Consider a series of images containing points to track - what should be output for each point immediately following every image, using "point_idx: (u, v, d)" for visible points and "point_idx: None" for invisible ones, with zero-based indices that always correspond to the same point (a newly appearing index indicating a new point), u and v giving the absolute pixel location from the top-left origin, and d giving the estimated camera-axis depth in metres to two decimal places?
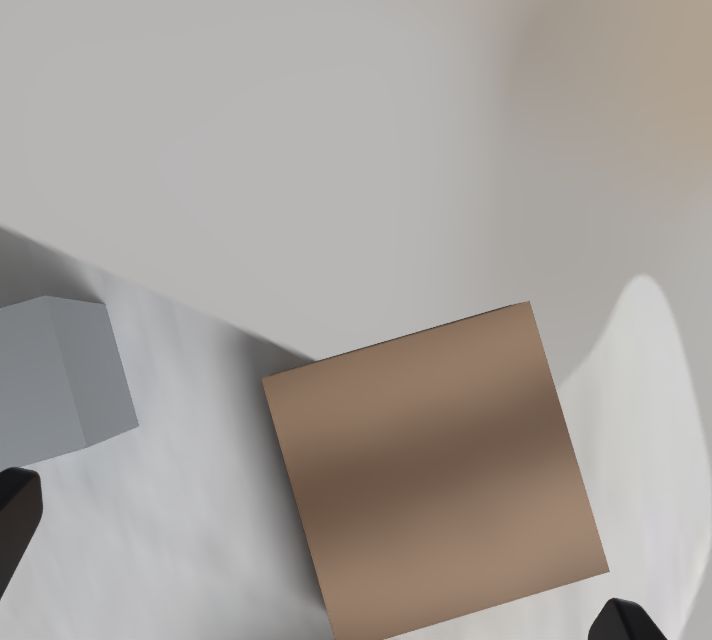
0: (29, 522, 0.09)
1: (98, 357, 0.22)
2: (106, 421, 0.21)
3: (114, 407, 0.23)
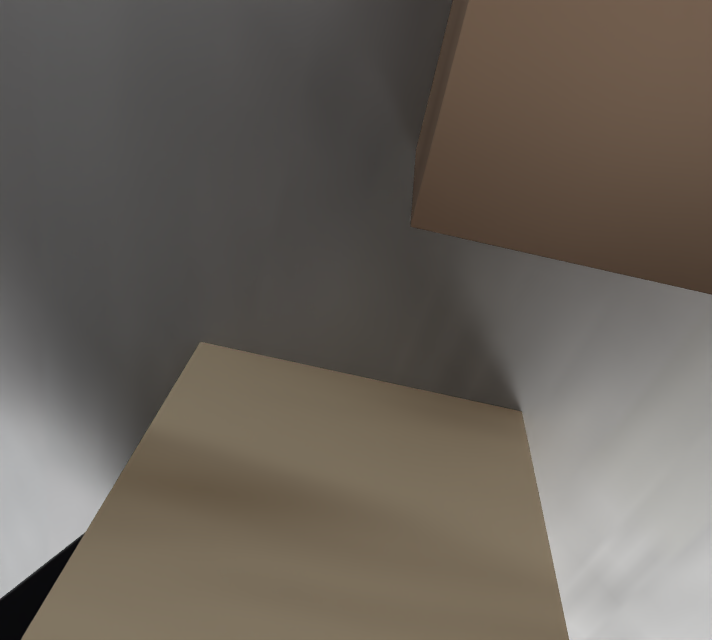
0: None
1: None
2: None
3: None
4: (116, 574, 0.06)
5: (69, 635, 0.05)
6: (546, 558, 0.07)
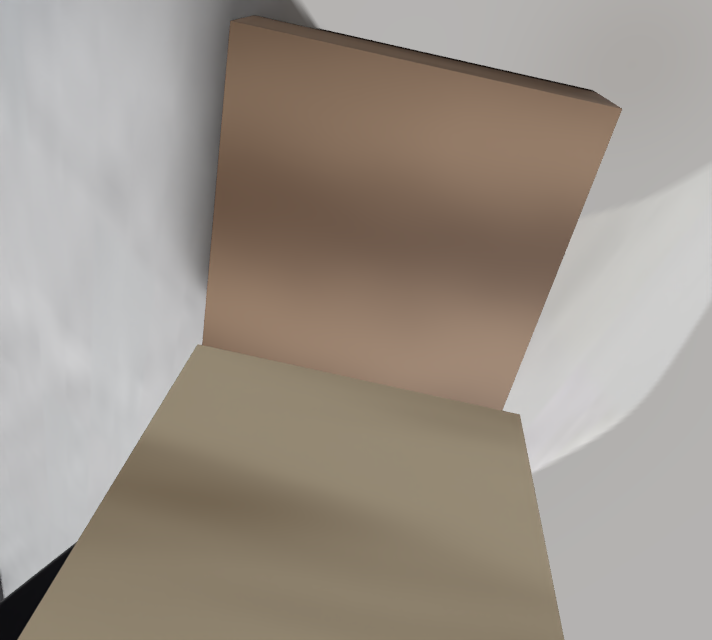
0: None
1: None
2: None
3: None
4: (106, 585, 0.06)
5: None
6: (545, 569, 0.07)
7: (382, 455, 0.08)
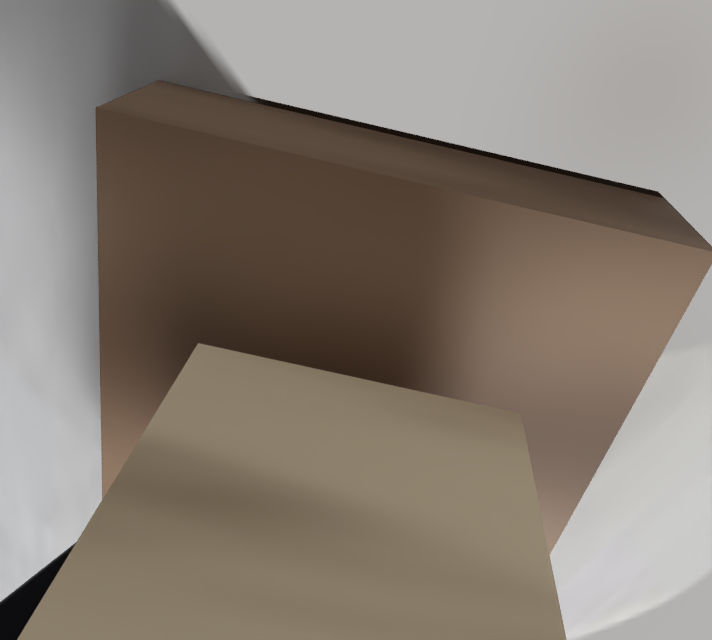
0: None
1: None
2: None
3: None
4: (108, 584, 0.06)
5: None
6: (546, 567, 0.07)
7: (383, 454, 0.08)
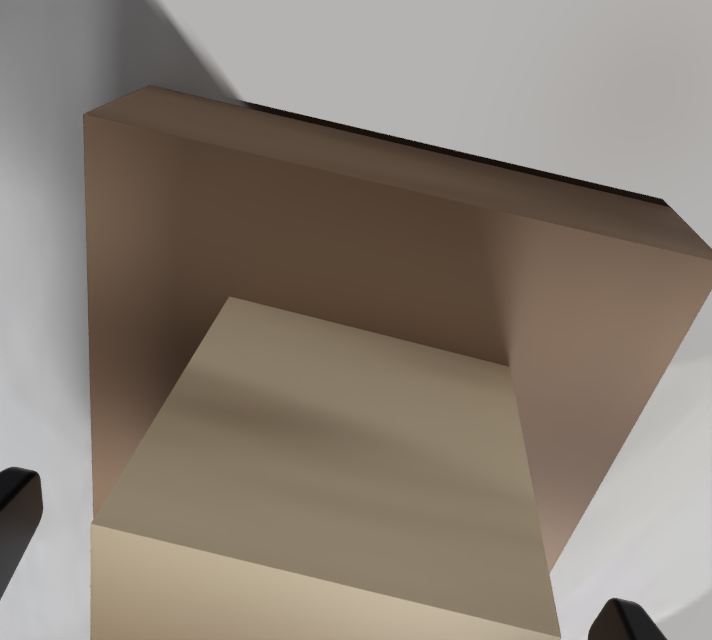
0: (29, 522, 0.09)
1: None
2: None
3: None
4: (169, 472, 0.07)
5: (134, 513, 0.07)
6: (527, 483, 0.08)
7: (391, 391, 0.09)
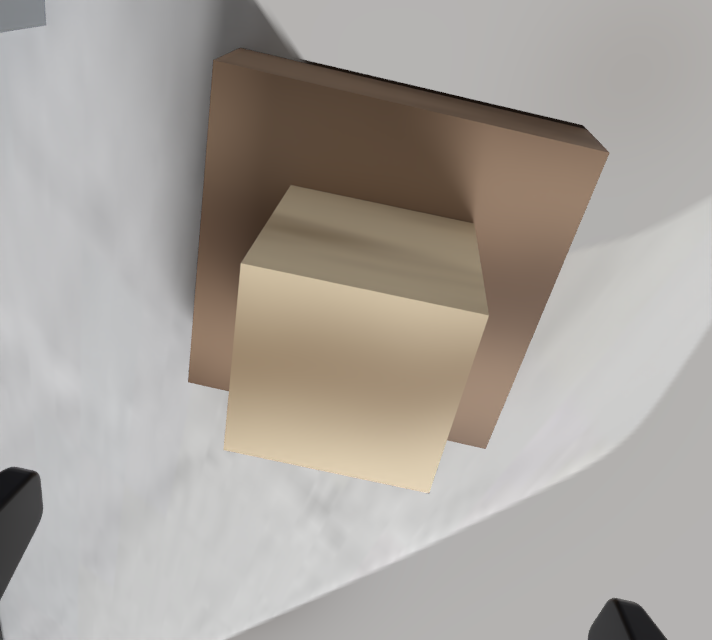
0: (29, 522, 0.09)
1: None
2: None
3: None
4: (274, 249, 0.13)
5: (261, 262, 0.12)
6: (479, 270, 0.14)
7: (396, 229, 0.15)
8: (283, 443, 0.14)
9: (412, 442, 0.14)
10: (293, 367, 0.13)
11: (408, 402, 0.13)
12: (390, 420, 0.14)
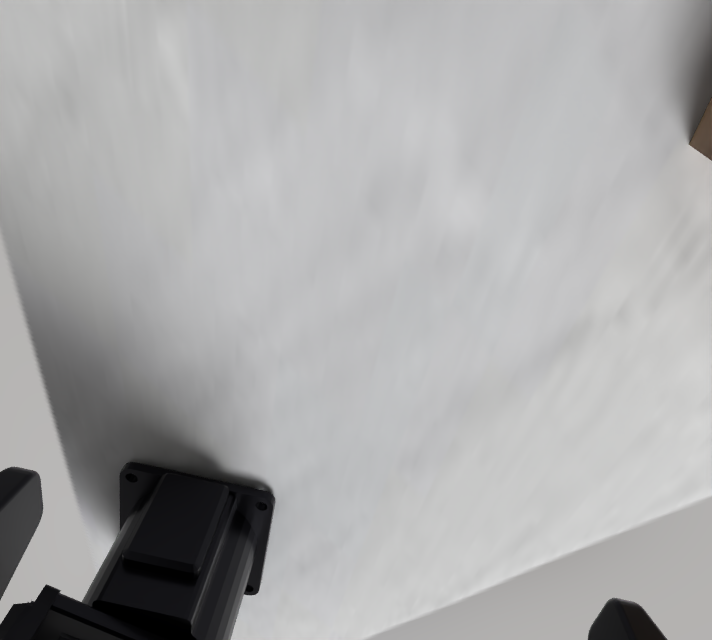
0: (29, 522, 0.09)
1: None
2: None
3: None
4: None
5: None
6: None
7: None
8: None
9: None
10: None
11: None
12: None
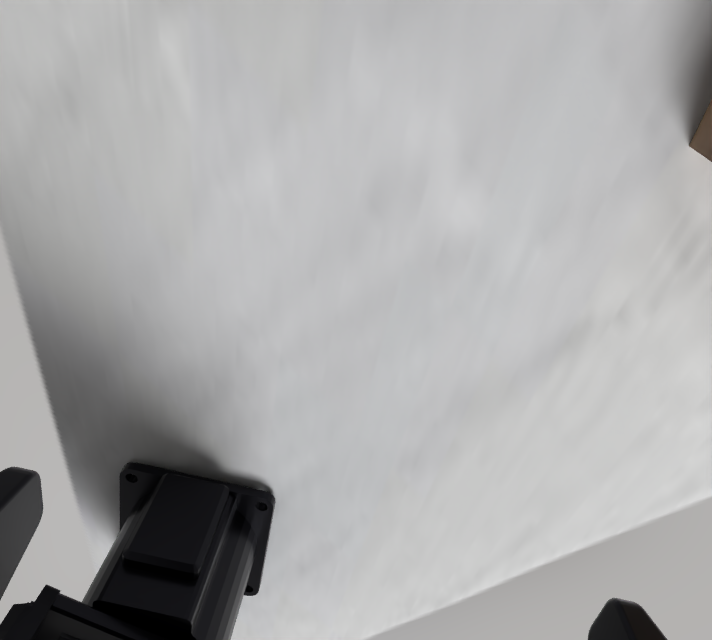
0: (29, 522, 0.09)
1: None
2: None
3: None
4: None
5: None
6: None
7: None
8: None
9: None
10: None
11: None
12: None
